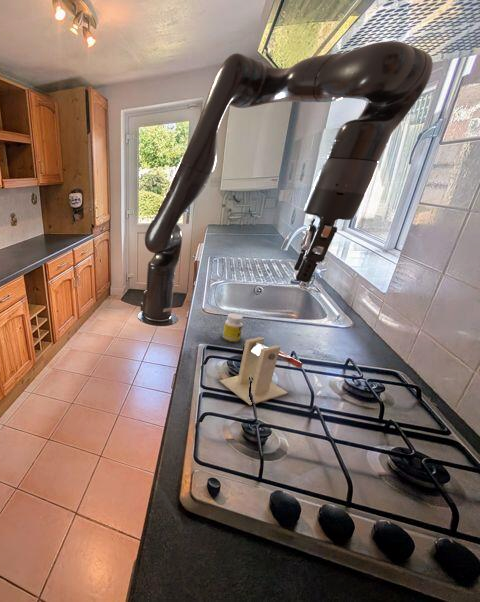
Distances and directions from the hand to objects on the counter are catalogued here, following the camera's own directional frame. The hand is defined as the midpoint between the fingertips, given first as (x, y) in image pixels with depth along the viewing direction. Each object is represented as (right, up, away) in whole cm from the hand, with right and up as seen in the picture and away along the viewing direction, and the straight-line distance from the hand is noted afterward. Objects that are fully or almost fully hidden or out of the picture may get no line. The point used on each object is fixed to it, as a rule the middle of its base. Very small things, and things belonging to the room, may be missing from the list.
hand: (300, 275), depth 59 cm
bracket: (-3, -26, +12) cm, 29 cm away
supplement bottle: (+3, -18, +34) cm, 38 cm away
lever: (+1, -19, +10) cm, 21 cm away
